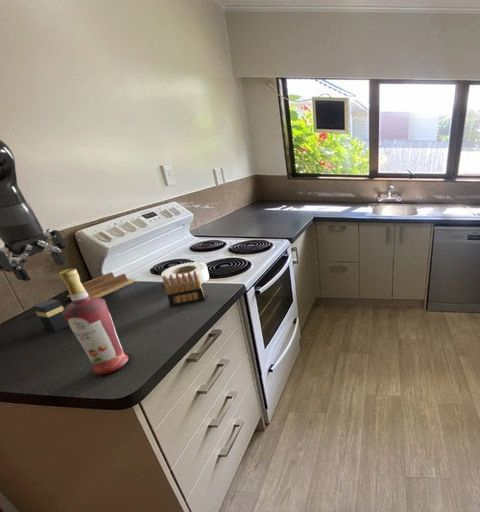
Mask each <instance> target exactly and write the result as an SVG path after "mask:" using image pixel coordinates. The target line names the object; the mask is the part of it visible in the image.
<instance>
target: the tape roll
mask: <svg viewBox="0 0 480 512" xmlns="http://www.w3.org/2000/svg"><path fill="white" fill-rule="evenodd" d="M194 271H195V272H196V273H197V275H198V278H199V280H200V283H201V285H203V284H204V283H206V282H208V281H209V279H210V274H209V269H208V266H207V263H204V262H201V261H199V262H198V261H193V262H184V263H180V264H176V265H173V266H170V267H168V268H166V269H164V270H163V271H162V272H161V274H160V275H161V279H162V282H163V285H164V286H165V284H164V279H163V277H164V276H166V278H167V279H168V282H169V284H170V286H171V282H170V275H172V276H173V278H174V280H175V283H176V285H177V280H176V274H178V275H179V277H180V279H181V282H182V284H183V279H182V273H184V274H185V276H186V279H187V281H188V283H189V279H188V272H190V274H191V276H192V278H193V281H194V283H195V280H194V274H193V273H194ZM183 286H184V285H183ZM189 286H190V285H189ZM195 286H196V285H195ZM177 287H178V286H177ZM171 289H172V287H171ZM178 290H179V289H178Z"/></svg>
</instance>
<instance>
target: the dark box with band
mask: <svg viewBox="0 0 480 512" xmlns="http://www.w3.org/2000/svg"><path fill="white" fill-rule="evenodd" d="M32 307H33V309H34V310H35V313H36V315H37V316H38V318H39V320H40V321H41V324H42V326H43V327H44V329H45V331H47V332H54V333H57V332H60V331H61V330H63V329H65V328H68V327H70V326H69V324H68V322H67V321H66V319H65V317H64V316H63V314H62V311H63V310H64V309H65V307H64V306H63V305H62V303H61V301H60V300H58V299H51V298H49V299H46V300H43V301H41V302H39V303H37V304H33V306H32Z"/></svg>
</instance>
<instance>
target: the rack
mask: <svg viewBox="0 0 480 512" xmlns="http://www.w3.org/2000/svg"><path fill="white" fill-rule="evenodd" d="M132 283H135V279H130V278H128V277H127V275H126V273H122V274H119V275H117V276H115V275H114V273H113V272H111V271H110V272H108V273H105V274H103V275H101V276H98V277H95V278H92V279H90V280H87V281H85V282H83V283H82V282H81V284H82V285H83V287H84V289H85V290H86V292H87V293H88V295H89V297H98V298H102V297H105V296H106V295H109V294H111V293H113V292H115V291H118V290H120V289H122V288H124V287H126V286H128V285H130V284H132ZM66 298H69V300H71V297H70V294H69V295H67V296H66Z"/></svg>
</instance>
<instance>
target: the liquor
mask: <svg viewBox="0 0 480 512" xmlns="http://www.w3.org/2000/svg"><path fill="white" fill-rule="evenodd" d="M58 274H59V276H60V278H61V280H62V281H63V283H64V284H65V285H66V287H67V290H68V294H69V295H70V297H69V298H71V299H70V300H71V302H70V303H69V304H68V305H66V306H65V307H64V310H63V311H62V314H63V316H64V317H65V319H66V321H67V322H68V324H69V326H68V327H69V328H70V330H71V331H72V333H73V334H74V336H75V338H76V339H77V340H78V342H79V344H80V345H81V347H82V349H83V350H84V352H85V354H86V355H87V357H88V359H89V360H90V363H91V364H92V366H93V369H92V372H93V373H94V374H97V375H110V374H113V373H115V372H117V371H119V370H120V369H122V368H123V367H124V366H125V364H126V363H127V362H128V361H129V355H127V354H125V352H124V349H123V347H122V345H121V342H120V339H119V337H118V334H117V331H116V328H115V324H114V321H113V319H112V315H111V312H110V311H109V308H108V305H107V302H106V299H105V298H102V297H100V298H98V297H89V295H88V293H87V292H86V290H85V289H84V287H83V285H82V282H81V278H80V274H79V273H78V270H77V268H68V269H67V268H66V269H64V270H61V271H59V272H58Z"/></svg>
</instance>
